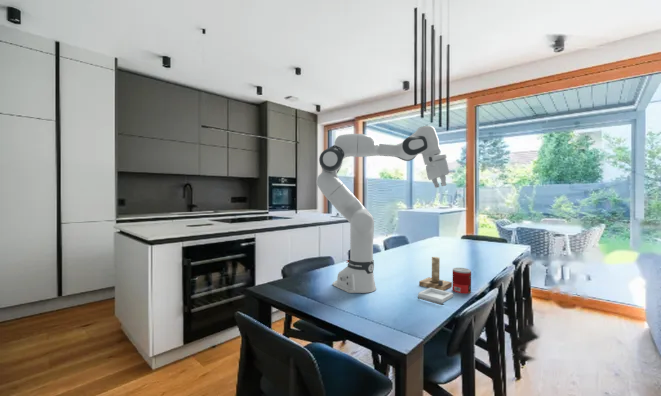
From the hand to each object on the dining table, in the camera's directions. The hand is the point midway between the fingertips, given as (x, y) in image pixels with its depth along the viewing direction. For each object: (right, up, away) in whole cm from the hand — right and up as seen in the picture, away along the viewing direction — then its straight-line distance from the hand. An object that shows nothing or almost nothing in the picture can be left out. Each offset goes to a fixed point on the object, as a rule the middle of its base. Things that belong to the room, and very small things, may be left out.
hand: (440, 186), depth 143 cm
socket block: (-1, -50, +5) cm, 50 cm away
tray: (-6, -50, -10) cm, 52 cm away
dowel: (-1, -49, +5) cm, 49 cm away
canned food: (+9, -50, -2) cm, 51 cm away
